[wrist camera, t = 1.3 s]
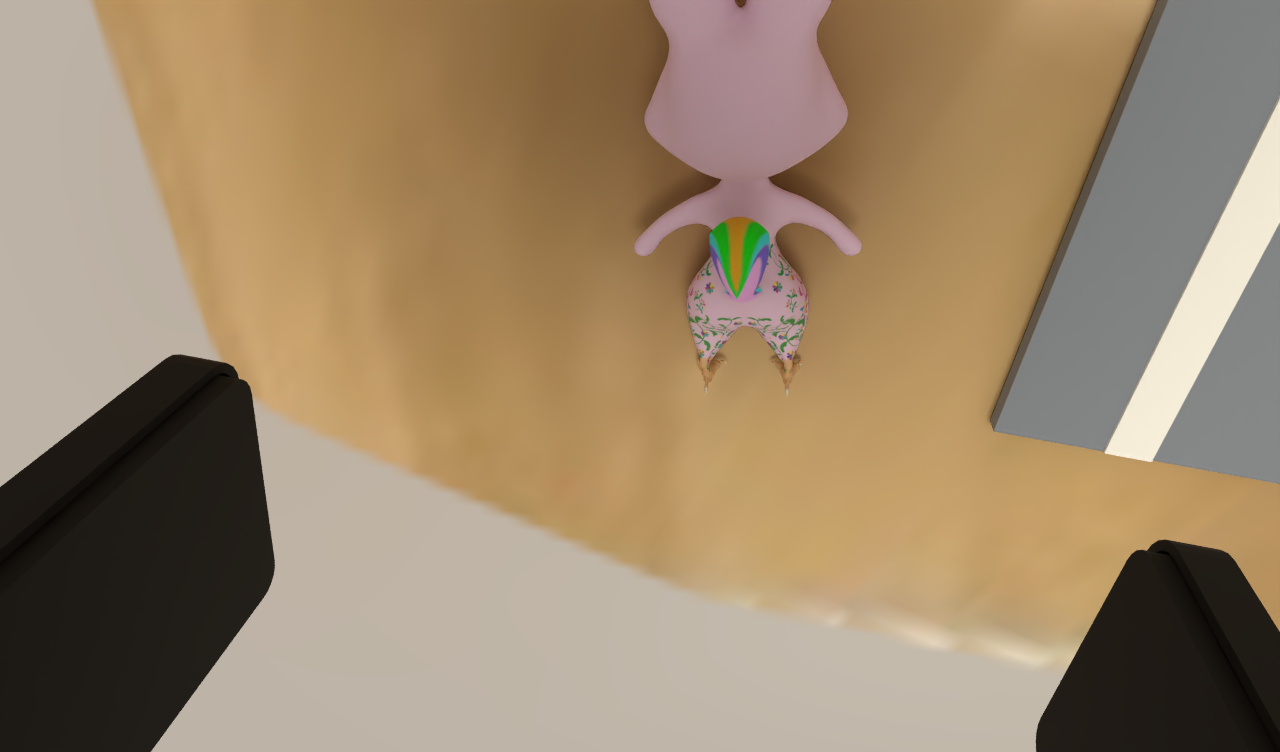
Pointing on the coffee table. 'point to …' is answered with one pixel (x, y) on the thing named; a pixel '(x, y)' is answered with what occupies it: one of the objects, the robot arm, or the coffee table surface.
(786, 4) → the rabbit figure
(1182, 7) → the mat
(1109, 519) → the coffee table surface
